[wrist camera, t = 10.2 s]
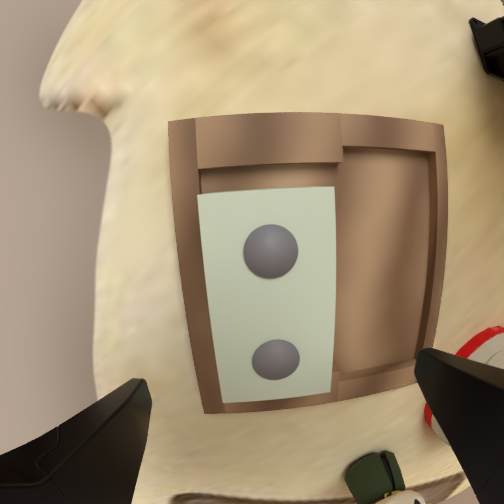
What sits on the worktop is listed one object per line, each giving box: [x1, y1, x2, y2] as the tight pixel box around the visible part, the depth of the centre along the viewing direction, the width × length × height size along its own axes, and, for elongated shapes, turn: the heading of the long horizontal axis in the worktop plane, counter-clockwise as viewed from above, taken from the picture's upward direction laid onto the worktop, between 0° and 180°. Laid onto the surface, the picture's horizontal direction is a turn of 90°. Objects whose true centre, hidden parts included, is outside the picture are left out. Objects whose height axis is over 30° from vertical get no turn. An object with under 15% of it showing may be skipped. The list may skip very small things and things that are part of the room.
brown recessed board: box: [168, 112, 448, 414], centre depth 19 cm, size 18×20×2 cm
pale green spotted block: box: [197, 186, 336, 403], centre depth 16 cm, size 6×11×5 cm, turn 4°
